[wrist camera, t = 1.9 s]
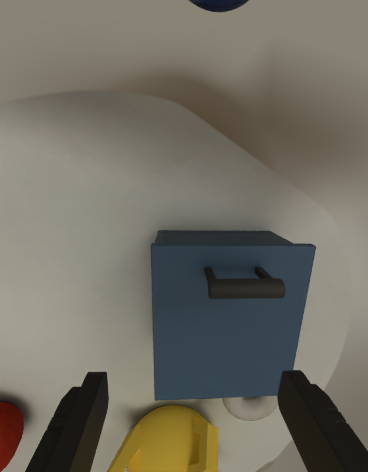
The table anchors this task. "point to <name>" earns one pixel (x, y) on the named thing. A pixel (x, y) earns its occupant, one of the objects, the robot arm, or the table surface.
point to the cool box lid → (226, 317)
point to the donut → (251, 407)
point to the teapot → (169, 443)
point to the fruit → (9, 432)
